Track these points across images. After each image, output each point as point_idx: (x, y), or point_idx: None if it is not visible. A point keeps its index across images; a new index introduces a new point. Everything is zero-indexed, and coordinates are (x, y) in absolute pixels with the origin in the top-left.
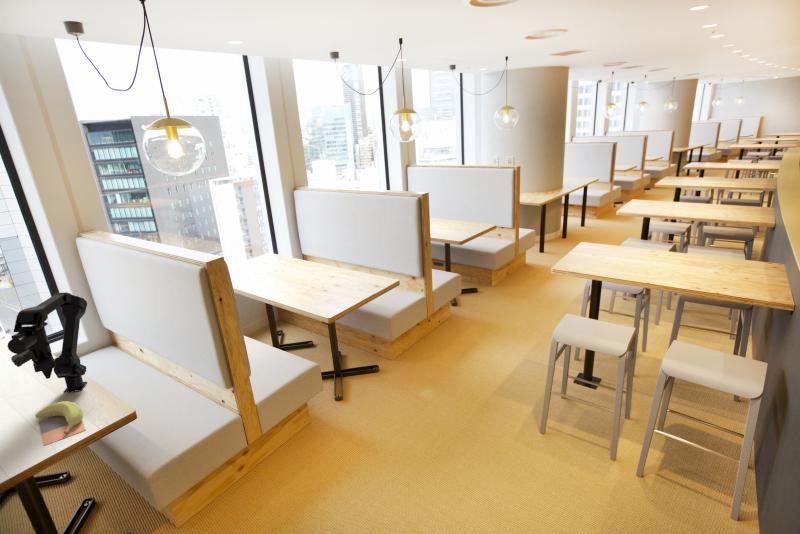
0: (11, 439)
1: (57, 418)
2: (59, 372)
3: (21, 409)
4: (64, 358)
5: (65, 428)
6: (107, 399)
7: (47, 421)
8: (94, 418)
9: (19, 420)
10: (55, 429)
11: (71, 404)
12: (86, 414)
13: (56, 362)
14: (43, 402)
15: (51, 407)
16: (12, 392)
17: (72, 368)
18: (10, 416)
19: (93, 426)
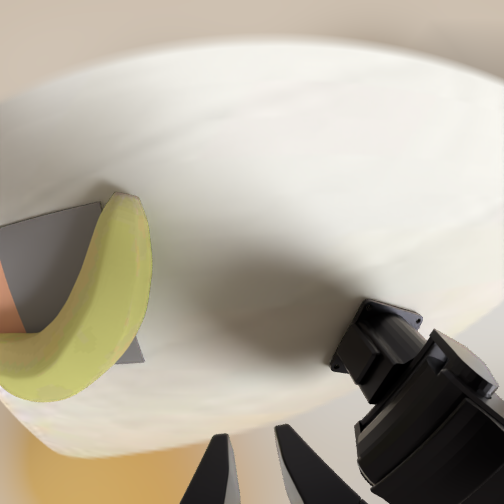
0: (17, 109)
1: None
2: (415, 399)
3: (321, 103)
4: (452, 500)
5: (2, 313)
6: (168, 439)
7: (75, 245)
8: None
9: (182, 100)
10: (4, 280)
11: (45, 391)
12: None
13: (483, 437)
14: (330, 208)
15: (80, 300)
16: (496, 98)
17: (368, 476)
18: (269, 55)
19: None
